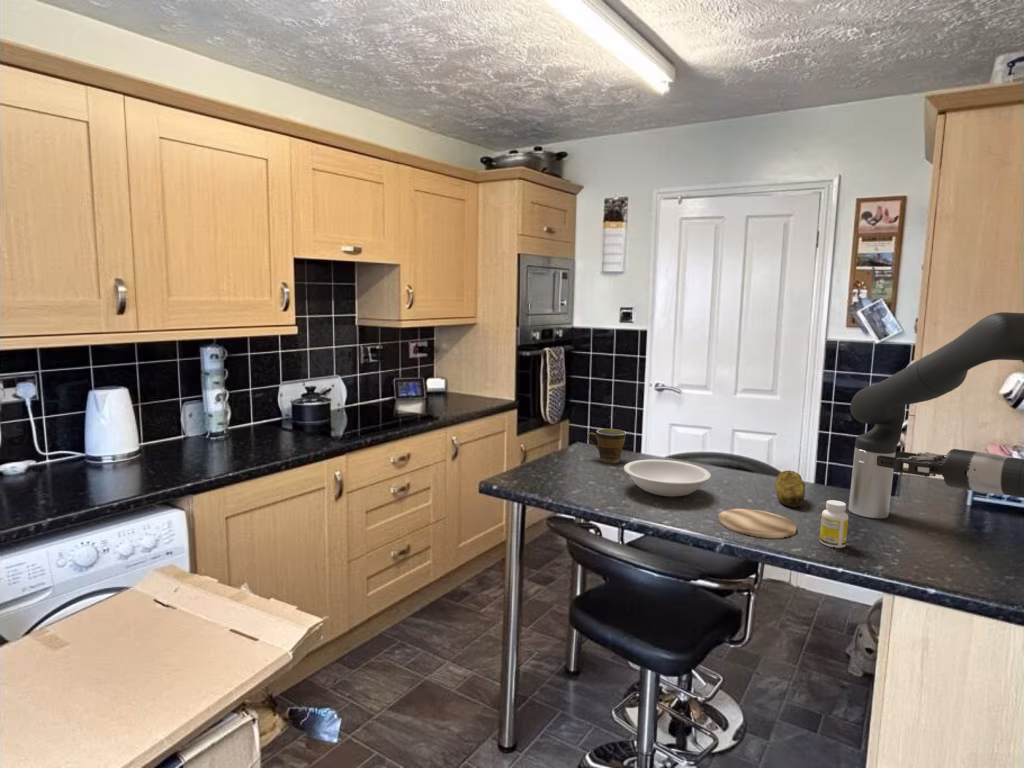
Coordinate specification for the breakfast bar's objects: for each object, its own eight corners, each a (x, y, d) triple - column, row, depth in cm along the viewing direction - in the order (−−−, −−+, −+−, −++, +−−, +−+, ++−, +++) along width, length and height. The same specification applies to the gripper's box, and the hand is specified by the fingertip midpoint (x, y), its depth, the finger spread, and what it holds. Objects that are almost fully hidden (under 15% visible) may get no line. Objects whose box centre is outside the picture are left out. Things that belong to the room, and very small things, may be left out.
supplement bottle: (837, 539, 144) (841, 499, 143) (850, 548, 139) (855, 507, 137) (814, 539, 144) (818, 498, 143) (827, 548, 139) (831, 506, 137)
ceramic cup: (624, 457, 214) (625, 429, 212) (625, 465, 204) (626, 435, 203) (586, 455, 215) (587, 427, 214) (585, 463, 206) (587, 433, 204)
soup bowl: (616, 499, 169) (617, 476, 168) (629, 476, 191) (630, 455, 190) (708, 511, 161) (710, 487, 160) (710, 486, 184) (711, 464, 183)
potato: (768, 505, 167) (771, 476, 166) (776, 493, 178) (778, 466, 177) (802, 511, 163) (804, 482, 162) (807, 498, 174) (810, 471, 173)
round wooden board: (742, 507, 165) (743, 504, 165) (809, 527, 151) (810, 524, 151) (703, 521, 154) (703, 517, 154) (772, 544, 140) (772, 540, 140)
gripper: (993, 448, 121) (903, 437, 134) (964, 456, 113) (871, 443, 126) (991, 486, 122) (901, 471, 135) (962, 496, 113) (869, 479, 127)
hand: (887, 458), depth 131 cm, fingers open, 8 cm apart
